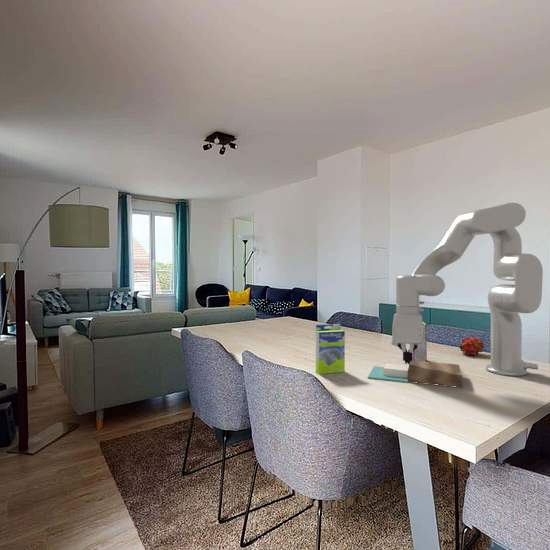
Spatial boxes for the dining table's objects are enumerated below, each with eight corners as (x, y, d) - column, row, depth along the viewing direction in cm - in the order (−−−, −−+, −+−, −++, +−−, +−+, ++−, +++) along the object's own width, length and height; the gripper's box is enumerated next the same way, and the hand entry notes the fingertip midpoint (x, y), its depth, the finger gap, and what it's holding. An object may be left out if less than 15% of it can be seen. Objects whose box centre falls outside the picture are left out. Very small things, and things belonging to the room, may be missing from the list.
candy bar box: (408, 358, 154) (408, 319, 153) (421, 358, 152) (421, 319, 152) (413, 365, 143) (413, 323, 142) (427, 365, 142) (427, 323, 141)
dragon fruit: (485, 357, 160) (463, 363, 157) (471, 343, 166) (449, 349, 163) (493, 344, 155) (470, 350, 151) (478, 330, 161) (456, 335, 158)
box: (319, 374, 131) (318, 326, 131) (314, 371, 135) (314, 324, 134) (345, 372, 134) (345, 325, 133) (340, 369, 138) (340, 323, 137)
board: (458, 376, 128) (458, 364, 128) (461, 388, 115) (462, 375, 115) (410, 371, 134) (410, 360, 134) (407, 382, 121) (407, 370, 121)
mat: (410, 370, 135) (410, 369, 135) (407, 382, 121) (407, 381, 121) (374, 367, 140) (374, 366, 140) (367, 378, 126) (367, 376, 126)
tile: (409, 372, 131) (409, 365, 131) (407, 378, 124) (407, 370, 124) (386, 370, 134) (386, 363, 134) (383, 375, 128) (383, 368, 127)
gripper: (430, 310, 128) (430, 362, 128) (386, 308, 134) (386, 358, 134) (430, 312, 121) (430, 367, 121) (384, 310, 127) (384, 363, 127)
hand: (407, 362), depth 128 cm, fingers closed
